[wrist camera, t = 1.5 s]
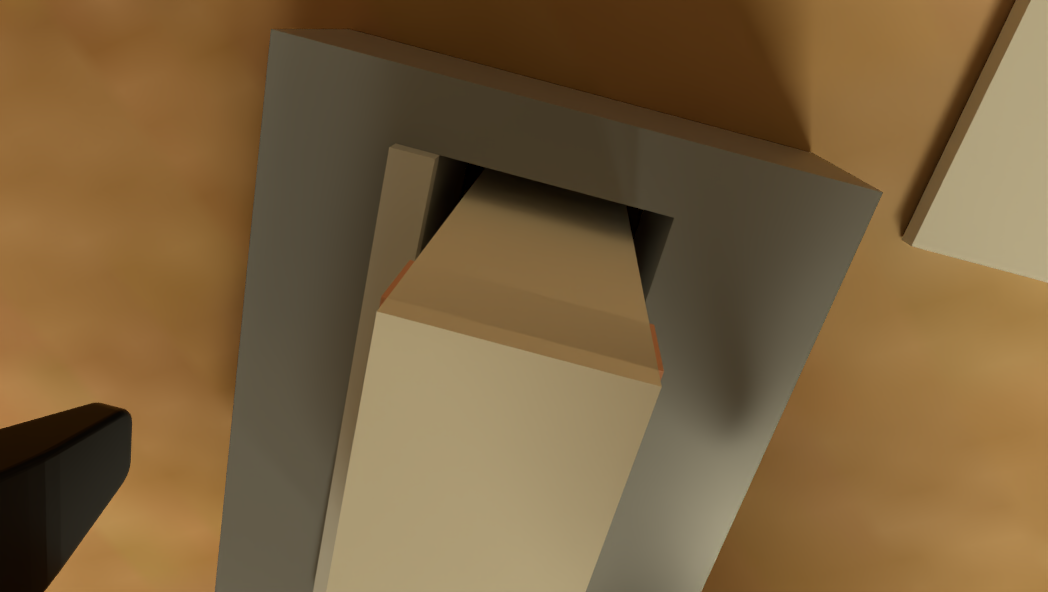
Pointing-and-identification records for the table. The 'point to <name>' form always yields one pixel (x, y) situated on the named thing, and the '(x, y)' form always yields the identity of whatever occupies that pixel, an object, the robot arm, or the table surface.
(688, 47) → the table surface
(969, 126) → the mat
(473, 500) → the cream rectangular block
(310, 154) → the dispenser
